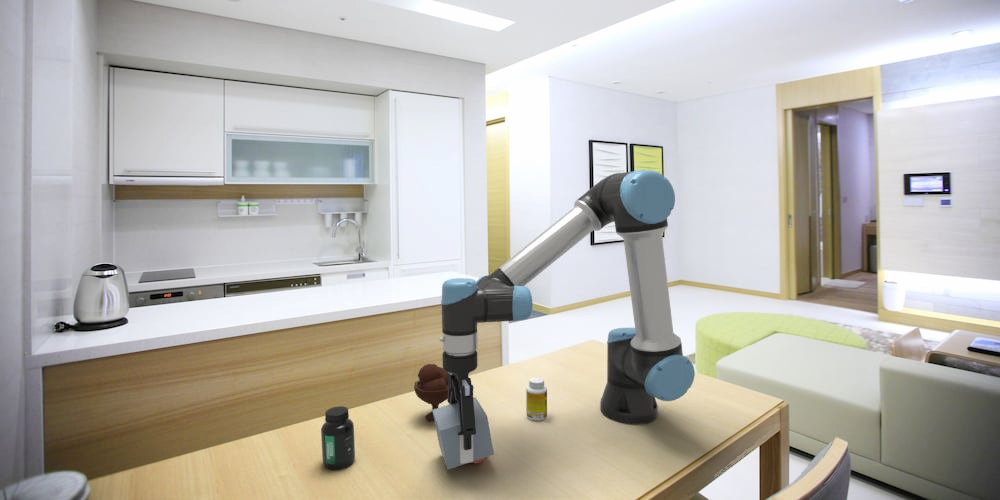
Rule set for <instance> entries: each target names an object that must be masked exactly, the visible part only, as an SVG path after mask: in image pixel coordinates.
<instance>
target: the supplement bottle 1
mask: <svg viewBox="0 0 1000 500" xmlns="http://www.w3.org/2000/svg"><path fill="white" fill-rule="evenodd" d="M324 416H325V418H324V423H323V424H322V426H321V428H320V434H321V437H320V438H321V439H320V440H321V451H322V452H321V453H322V454H321V455H322V456H321V457H322V466H323V467H324V468H325V469H327V470H329V471H339V470H343V469H346V468H348V467H350V466H351V465H352V464H353V463H354V462H355V460H356V459H355V458H356V450H355V449H356V448H355V446H356V445H355V444H356V443H355V425H354V422H353V421H352V419H351V418H350V415H349V409H348V407H346V406H341V405H340V406H334V407H330V408H328V409H326V411H325V412H324Z"/></svg>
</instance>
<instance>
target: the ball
mask: <svg viewBox="0 0 1000 500" xmlns="http://www.w3.org/2000/svg"><path fill="white" fill-rule="evenodd" d="M485 459H486V457H484V458H481V459H478V460H475V461H473V462H472V463H473V464H478V463H479V464H480V463H482V462H483V461H484V460H485Z"/></svg>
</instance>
